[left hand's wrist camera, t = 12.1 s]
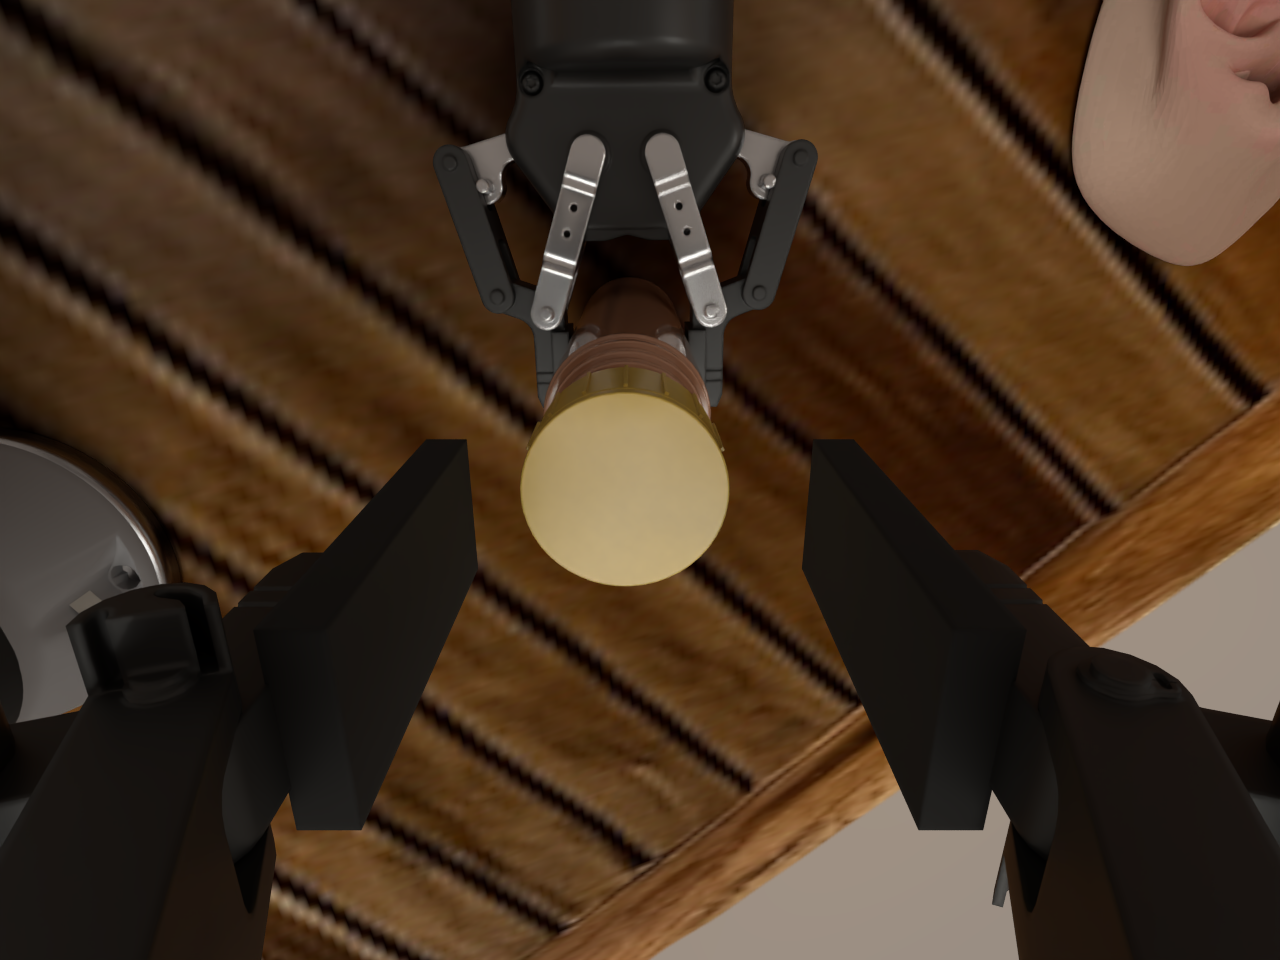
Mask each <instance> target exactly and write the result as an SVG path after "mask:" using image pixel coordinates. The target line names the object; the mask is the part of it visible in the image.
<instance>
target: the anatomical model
mask: <svg viewBox="0 0 1280 960" xmlns="http://www.w3.org/2000/svg"><path fill="white" fill-rule="evenodd" d="M1072 163H1073V170H1074V175H1075V178H1076V182H1077V184H1078V187H1079V189H1080V191H1081V193H1082V195H1083V197H1084V199H1085V200H1086V202H1087V203H1088V205H1089V206H1090V207H1091V209H1092V210H1093V211H1094V212H1095V213H1096V214H1097V216H1098V217H1099V218H1100V219H1101V220H1102V221H1103V222H1104V223H1105V224H1106V225H1107V226H1109V227H1110V228H1111V229H1112V230H1113V231H1114V232H1115V233H1117V234H1118V235H1120V236H1121V237H1123V238H1124V239H1125V240H1127V241H1128V242H1130V243H1131V244H1133V245H1134V246H1136V247H1138V248H1140V249H1141V250H1143V251H1145V252H1146V253H1148V254H1150V255H1152V256H1154V257H1157V258H1159V259H1161V260H1163V261H1166V262H1169V263H1172V264H1176V265H1182V266H1191V265H1196V264H1201V263H1204V262H1206V261H1208V260H1210V259H1212V258H1214V257H1215V256H1217V255H1219V254H1220V253H1222V252H1223V251H1224V250H1225V249H1227V248H1228V247H1229V246H1230V245H1232V244H1233V243H1234V242H1235V241H1236V240H1237V239H1239V238H1240V237H1241V236H1242V235H1243V234H1244V233H1245V232H1246V231H1247V230H1248V229H1249V228H1250V227H1251V226H1252V225H1253V224H1254V223H1255V222H1256V221H1258V220H1259V219H1260V218H1261V217H1262V216H1263V215H1264V214H1265V213H1266V212H1267V211H1268V210H1269V209H1270V208H1271V207H1272V206H1273V205H1274V204H1275V203H1276V202H1277V200H1278V199H1279V198H1280V0H1103V3H1102V6H1101V9H1100V12H1099V16H1098V19H1097V22H1096V26H1095V29H1094V32H1093V36H1092V40H1091V43H1090V47H1089V51H1088V55H1087V59H1086V64H1085V68H1084V72H1083V77H1082V81H1081V85H1080V90H1079V96H1078V101H1077V107H1076V113H1075V121H1074V129H1073V136H1072Z"/></svg>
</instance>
